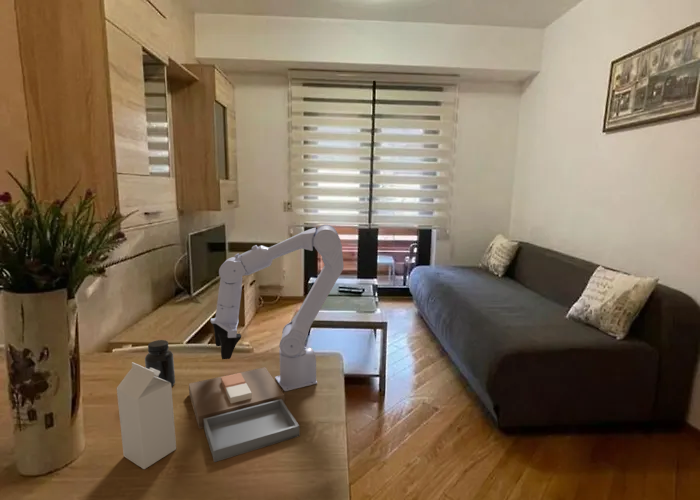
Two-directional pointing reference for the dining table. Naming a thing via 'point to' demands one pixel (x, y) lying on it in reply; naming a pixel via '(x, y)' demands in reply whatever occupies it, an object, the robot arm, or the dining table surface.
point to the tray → (249, 429)
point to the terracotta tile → (232, 380)
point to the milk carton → (146, 416)
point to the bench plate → (215, 401)
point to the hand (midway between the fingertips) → (222, 351)
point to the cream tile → (238, 393)
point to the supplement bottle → (161, 360)
